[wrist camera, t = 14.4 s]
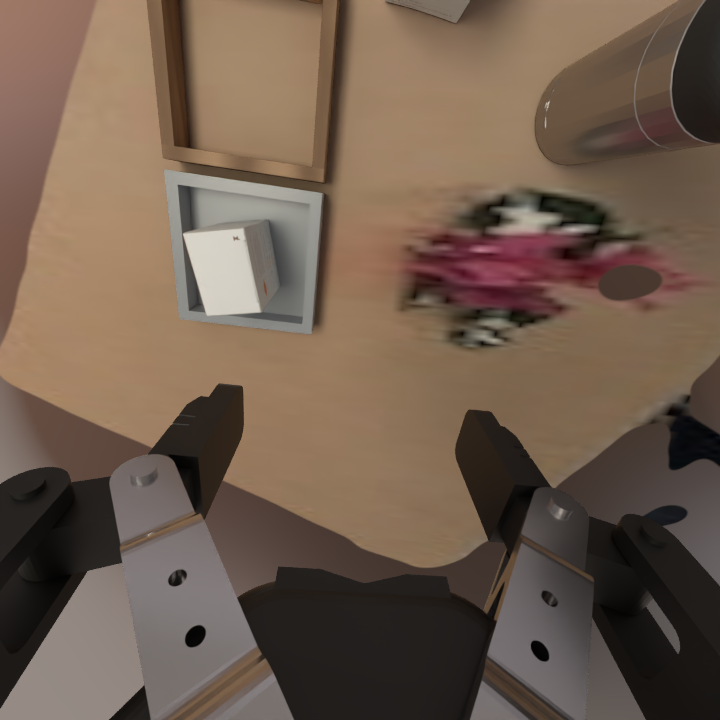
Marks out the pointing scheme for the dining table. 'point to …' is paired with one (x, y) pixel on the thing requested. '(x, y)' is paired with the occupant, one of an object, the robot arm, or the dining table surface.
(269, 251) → the small box
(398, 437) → the dining table surface
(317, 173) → the frame
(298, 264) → the tray
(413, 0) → the supplement box
